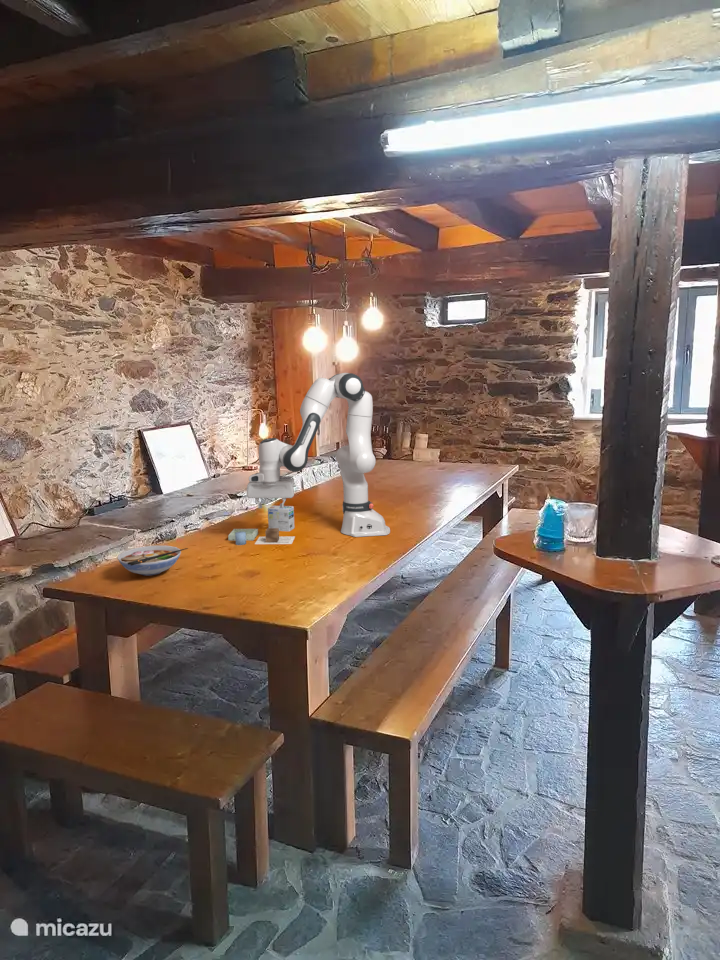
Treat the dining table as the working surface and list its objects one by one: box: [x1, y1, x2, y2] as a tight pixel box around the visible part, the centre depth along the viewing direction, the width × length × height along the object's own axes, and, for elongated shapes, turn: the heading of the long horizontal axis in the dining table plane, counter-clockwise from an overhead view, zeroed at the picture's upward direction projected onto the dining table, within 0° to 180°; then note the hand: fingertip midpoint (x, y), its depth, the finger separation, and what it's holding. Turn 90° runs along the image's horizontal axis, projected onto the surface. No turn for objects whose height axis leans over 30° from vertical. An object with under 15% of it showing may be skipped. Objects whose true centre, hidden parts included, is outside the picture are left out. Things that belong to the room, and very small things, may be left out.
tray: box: [228, 528, 259, 542], centre depth 294 cm, size 11×11×2 cm
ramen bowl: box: [117, 544, 189, 577], centre depth 246 cm, size 25×23×8 cm
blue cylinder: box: [235, 531, 247, 546], centre depth 283 cm, size 4×4×5 cm
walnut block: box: [264, 527, 280, 542], centre depth 286 cm, size 5×5×5 cm
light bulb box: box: [267, 504, 296, 532], centre depth 306 cm, size 11×7×11 cm, turn 74°
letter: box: [254, 535, 296, 545], centre depth 288 cm, size 16×12×1 cm
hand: (271, 507), depth 284 cm, fingers open, 8 cm apart
